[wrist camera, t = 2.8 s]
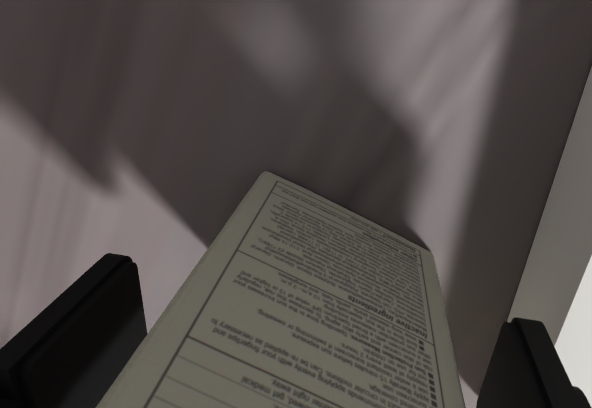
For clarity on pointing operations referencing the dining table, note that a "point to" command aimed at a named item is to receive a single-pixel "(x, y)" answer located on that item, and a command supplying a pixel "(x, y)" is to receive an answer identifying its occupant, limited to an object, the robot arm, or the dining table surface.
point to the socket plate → (565, 256)
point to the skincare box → (298, 317)
